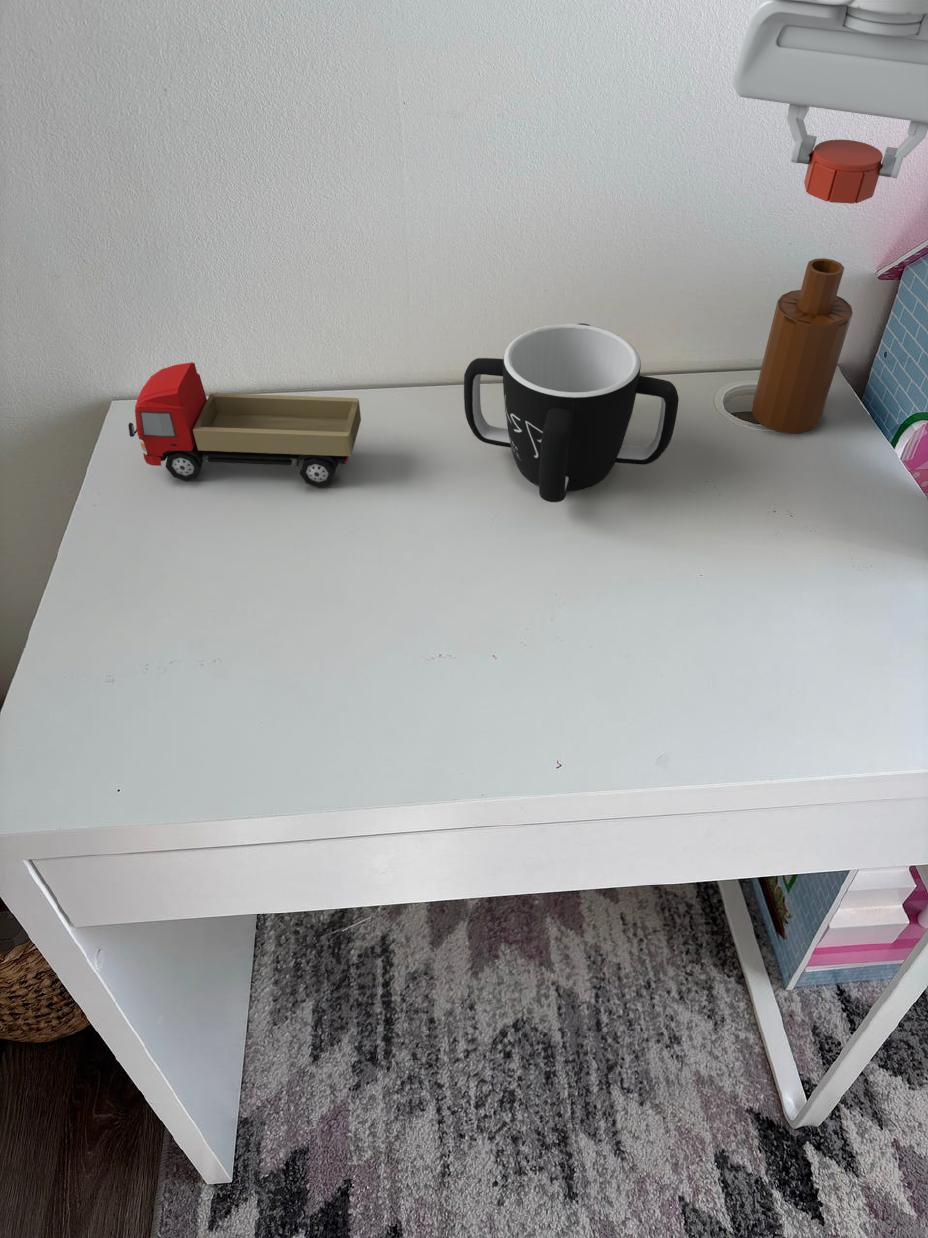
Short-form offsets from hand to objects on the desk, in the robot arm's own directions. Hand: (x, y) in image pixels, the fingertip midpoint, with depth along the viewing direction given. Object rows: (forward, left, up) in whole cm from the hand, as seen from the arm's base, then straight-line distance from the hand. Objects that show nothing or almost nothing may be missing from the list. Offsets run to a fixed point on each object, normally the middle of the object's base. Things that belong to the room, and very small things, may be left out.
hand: (843, 167), depth 79 cm
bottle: (+1, -3, -26) cm, 26 cm away
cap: (0, 0, -2) cm, 2 cm away
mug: (+8, +21, -26) cm, 34 cm away
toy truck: (+26, +45, -26) cm, 58 cm away
